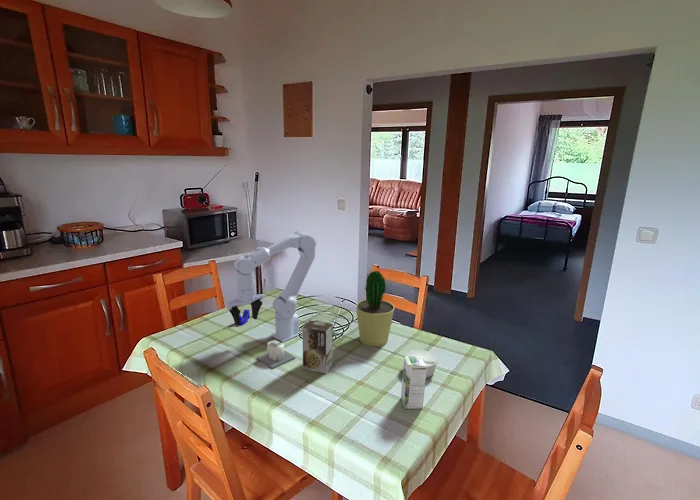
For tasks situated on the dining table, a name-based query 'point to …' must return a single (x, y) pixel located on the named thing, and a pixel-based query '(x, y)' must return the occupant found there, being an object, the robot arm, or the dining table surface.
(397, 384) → the dining table surface
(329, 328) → the brown food box
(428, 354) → the ramekin
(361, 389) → the dining table surface
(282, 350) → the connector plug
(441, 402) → the dining table surface
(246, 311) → the cable holder
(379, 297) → the potted cactus
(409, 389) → the syrup box
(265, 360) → the slate coaster
